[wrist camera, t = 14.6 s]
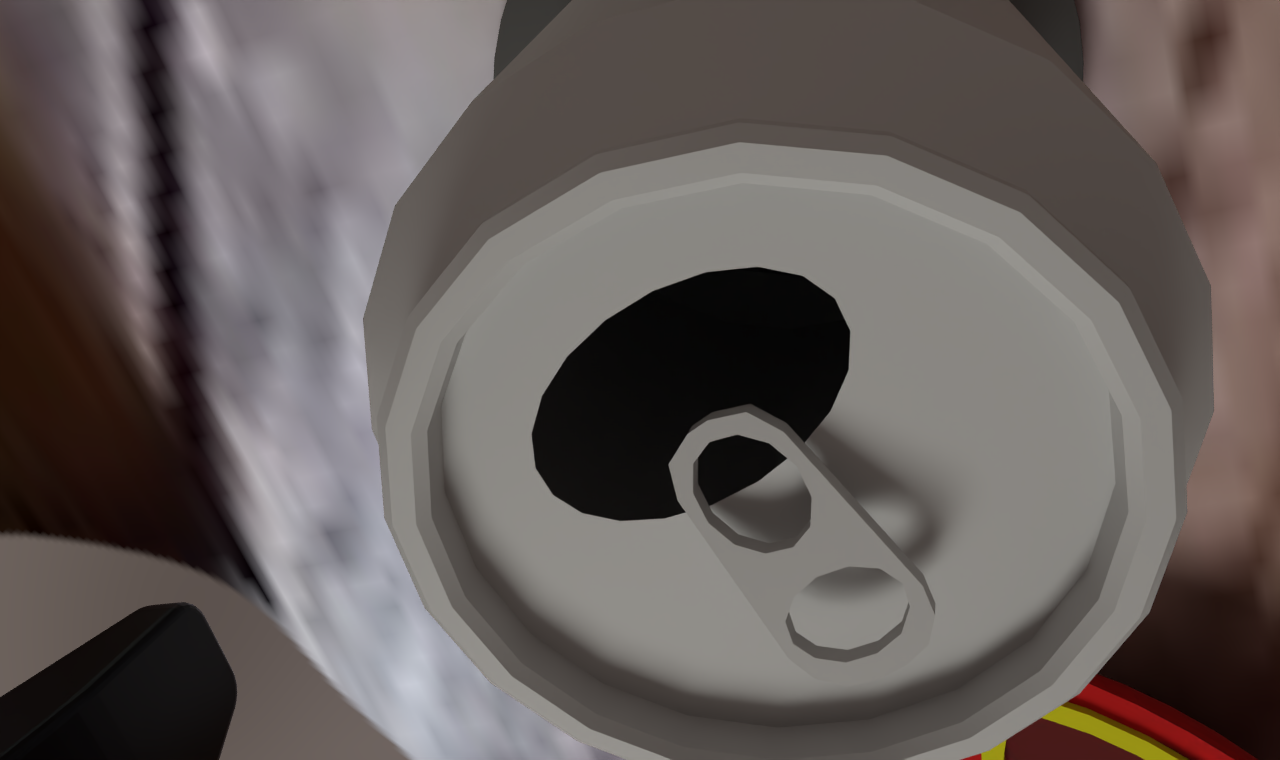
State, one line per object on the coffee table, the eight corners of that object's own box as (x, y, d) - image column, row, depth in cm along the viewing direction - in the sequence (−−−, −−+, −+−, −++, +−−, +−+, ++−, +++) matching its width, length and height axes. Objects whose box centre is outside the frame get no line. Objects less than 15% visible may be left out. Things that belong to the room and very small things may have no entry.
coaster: (1064, -288, 16) (1072, -291, 15) (1083, 320, 20) (1091, 334, 20) (431, -132, 18) (419, -129, 18) (575, 387, 23) (570, 402, 22)
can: (825, -246, 16) (872, -273, 6) (1099, 138, 18) (1495, 625, 8) (480, 83, 19) (100, 457, 9) (750, 378, 21) (703, 956, 11)
